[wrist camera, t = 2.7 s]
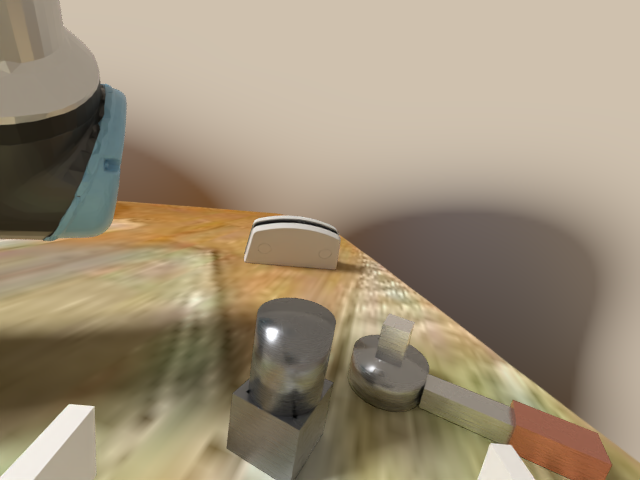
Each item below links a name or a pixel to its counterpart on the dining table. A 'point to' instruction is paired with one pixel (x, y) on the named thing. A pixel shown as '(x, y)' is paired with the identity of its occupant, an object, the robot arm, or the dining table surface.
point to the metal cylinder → (284, 388)
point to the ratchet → (469, 405)
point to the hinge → (293, 242)
